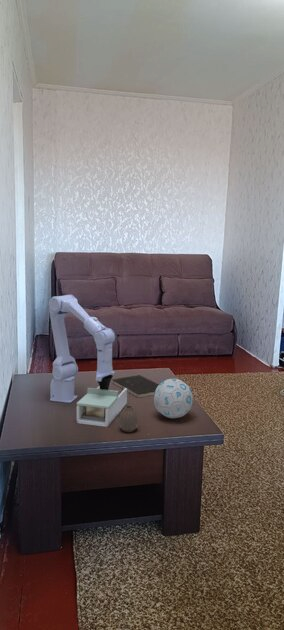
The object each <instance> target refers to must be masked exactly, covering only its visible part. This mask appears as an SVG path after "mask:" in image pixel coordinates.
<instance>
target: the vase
mask: <svg viewBox="0 0 284 630" xmlns="http://www.w3.org/2000/svg"><path fill="white" fill-rule="evenodd" d="M118 422H119V423H118V425H119V427H120V429H121V430H122V431H124V432H126V433H131V432H134V431H135V430H137V427H138V424H139V416H138V413H137V411H135V409H134V407H133V405H125V406H124V409H122V410H121V413H119V418H118Z"/></svg>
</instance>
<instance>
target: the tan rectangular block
mask: <svg viewBox="0 0 284 630" xmlns="http://www.w3.org/2000/svg"><path fill="white" fill-rule="evenodd" d="M105 411H106V408H98V407H89V406H86V416H94V417H102V418H105Z"/></svg>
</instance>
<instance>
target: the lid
mask: <svg viewBox="0 0 284 630" xmlns="http://www.w3.org/2000/svg"><path fill="white" fill-rule="evenodd" d="M96 388H97V387H96ZM96 388H94V387H87V393H86V394H85V395H84V396H82V398H80V399H79V400H78V401H77V402H76V406H78V405H81V406H89V407H98V408H106V409H109V408H110V407H111V406H112V405H113V403H114V402H115V401H116V400H117V399H118V396H119V390H113V389H112V390H111V389H108V390H105V389H96Z"/></svg>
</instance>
